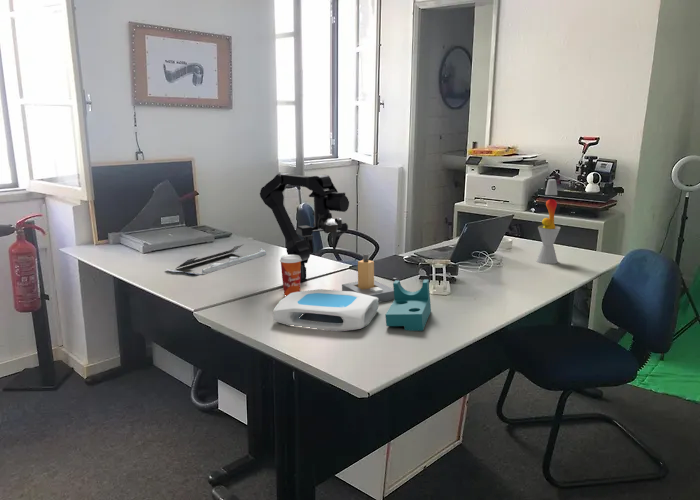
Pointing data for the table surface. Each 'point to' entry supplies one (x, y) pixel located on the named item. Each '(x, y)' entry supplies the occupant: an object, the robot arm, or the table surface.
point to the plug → (365, 273)
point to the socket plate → (372, 290)
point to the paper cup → (291, 273)
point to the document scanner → (327, 309)
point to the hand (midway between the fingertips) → (323, 251)
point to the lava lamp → (549, 228)
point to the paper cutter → (220, 266)
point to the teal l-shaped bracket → (409, 307)
